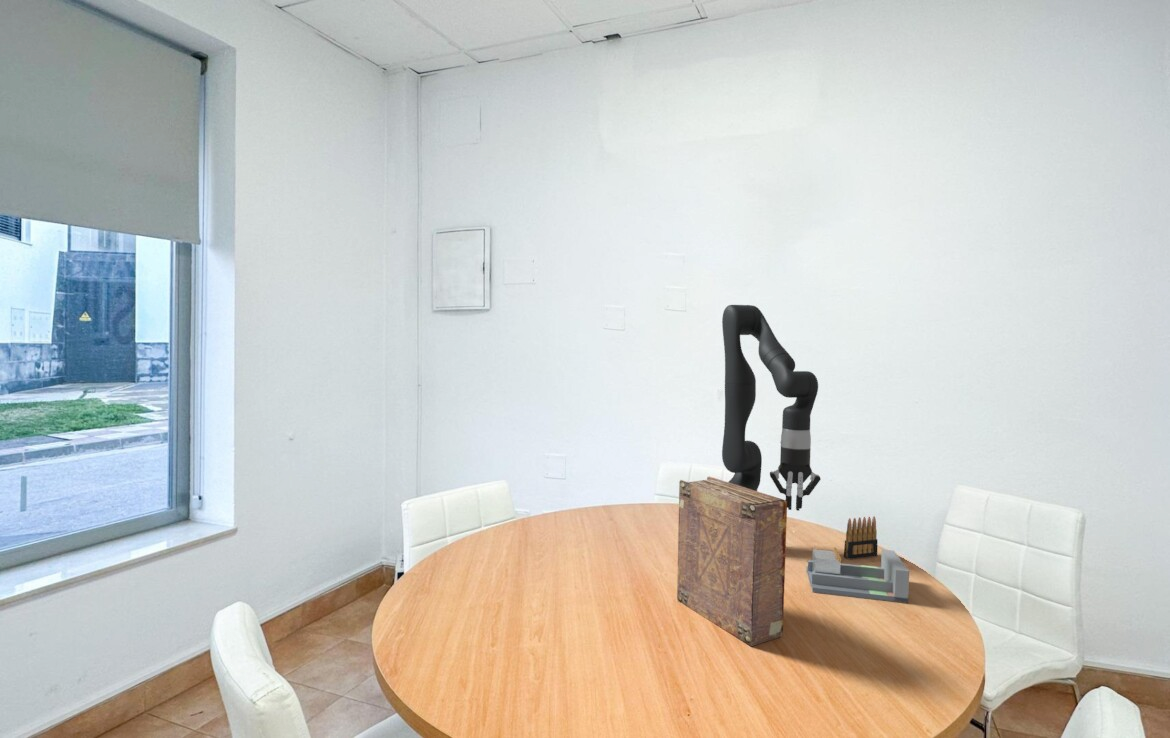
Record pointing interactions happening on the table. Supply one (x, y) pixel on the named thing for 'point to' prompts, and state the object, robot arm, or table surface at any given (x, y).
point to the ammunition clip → (861, 539)
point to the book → (732, 557)
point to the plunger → (826, 562)
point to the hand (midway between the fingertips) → (793, 509)
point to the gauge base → (866, 580)
